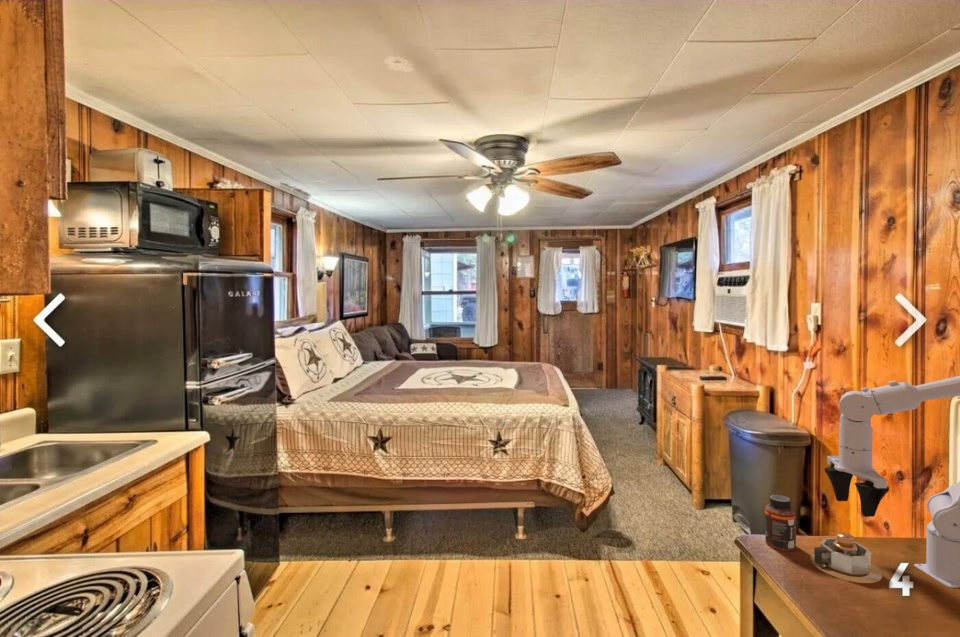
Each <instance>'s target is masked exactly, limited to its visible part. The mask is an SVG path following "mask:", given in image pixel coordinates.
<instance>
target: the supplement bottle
mask: <svg viewBox="0 0 960 637" xmlns="http://www.w3.org/2000/svg"><path fill="white" fill-rule="evenodd" d="M791 504H792V503H791V498H790V497H788V496H785V495H782V494H781V495H780V494H771V495H770V496H769V503H768V504H767V505H766V506H765V509H764V515H765V516H764V522H765V523H764V524H765V525H764V526H765V527H764V528H765V532H764V536H765V538H764V539H765V544H766V545H767V546H768V547H770V548H771V549H773V550H776V551H780V552H786V553H787V552H788V553H789V552H790V553H791V552H793V551H795V550H796V548H797V547H796V546H797V527H796V526H797V518H796V516H797V514H796V511H795V509H794V508H793V507H792V506H791Z"/></svg>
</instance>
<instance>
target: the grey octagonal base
mask: <svg viewBox="0 0 960 637" xmlns="http://www.w3.org/2000/svg"><path fill="white" fill-rule="evenodd" d="M835 540H837V537H823V538H822V540H821V542H820V546H819V547H814V550H813V551H814V552H813V553H812V554H811V555H810V558H809V559H810V562H811V563H812V564H813V566H814V567H816V568H817V569H819V570H820V571H821V572H824V573H826V574H827V575H830V576H833V577H835V578H838V579H840V580H843V581H844V580H845V581H848V582H853V583H859V584H860V583H861V584H872V583H877V582H880V581H881V580H882V578H883V573H882V571H881V570H880V569H879V568H878V566H876V565H874V564H873V563H872V557H871V556H872V552H871V550H870V549H868V548H867V547H865V546H864V545H862V544H861V543H859V542H856V541H854V544H855V545H856V546H857V551H854V552H849V551H847V554H849V555H852V556H849V555H845V554H842V553H843V550H841V549H838V548H836V547H835V546H834V545H833V541H835ZM838 552H841V553H838Z"/></svg>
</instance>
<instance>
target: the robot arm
mask: <svg viewBox="0 0 960 637" xmlns="http://www.w3.org/2000/svg"><path fill="white" fill-rule="evenodd" d="M954 397H955V398H956V397H960V375H958V376H957V375H956V376H953V377H947V378H943V379H939V380H936V381H931V382H926V383H923V384H919V385H913V384H911V383H908V382H905V381H902V382H901V381H900V382H897V380H890V381H888V384H886V385H881V386H877V387H873V388H868V387H867V386H866V387H862V388H861V391H858V390H850V391H847V392H845V393H843V394H842V395H841V397H840V400H839V402H838V403H839V405H838V406H839V411H840V413H841V414H840V416H839V422H840V423H839V426H838V427H839V430H838V431H839V432H838V434H839V436H838V446H839V448H838V456H837V455H827V458H826V461H827V465H829V466H830V467H829V466H828V467H825V468H824V472H825V473H826V475H827V477H828V479H829V481H830V483H831V486H832V490H833V492H834V496H835V500H836V501H837V502H848V500H849V497H850V489H851V488H850V487H851V482H852V479H853V476H855V478H856V477H857V478H859V479H861V480H862V481H864V482H855V483H854V486H855V488H856V489H857V492H858V495H859V499H860V511H861V514H862V516H863V517H867V518H868V517H871V518H872V517H875V515H876V513H877V510H878V507H879V505H880V503H881V502H882V500H883V498H884V497H885V495H886V494H887V493H888V492H889V491H890V487H889V486H888V479H887V478H885V477H884V476H882V475H881V474H880V473H879V472H877V471H876V469H874V468H873V432H874V430H873V427H872V418H873V416H882V415H890V414H895V413H901V412H906V411H912V410H913V411H914V410H917V409H918V407H919V406H920V404H921V403H922V402H927V401H934V400H939V399H945V398H946V399H948V398H954ZM926 504H927V505H926V507H927V511H928V512H929V514H930V516H931V521H930V522H929V523H927V524H926V534H925V537H926V546H925V547H926V553H925V554H926V555H925V556H926V558H925V559H926V561H925V563H914V564H913V566H914V567H915V568H917V569H918V570H920V571H922V572H923V573H925V574H927V575H928V576H930V577H932V579H934V580H936V581H937V582H940V583H941V584H942V585H944V586H946V587H947V588H951V589H959V588H960V480H959V481H958V482H957V483H955V484H951V485H949V486H948V487H947V488H946V489H944V490H943V491H942V492H938V493H936V494H934V495H932V496H930V497H929V498H928V500H927V503H926Z"/></svg>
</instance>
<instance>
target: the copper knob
mask: <svg viewBox="0 0 960 637" xmlns="http://www.w3.org/2000/svg"><path fill="white" fill-rule="evenodd" d="M836 538H837V540H835V541H833V545H834V546H835V547H836V548H838V549H841V550H843V553H842V554H845V555H849V554H847V551H849V552H854V551H857V546H856V545H855V544H854V542H855V541H854V536H853V534H850V533H847V532H842V531H840V532H839V531H838V532H837V533H836ZM838 553H841V552H838ZM849 556H852V555H849Z"/></svg>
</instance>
